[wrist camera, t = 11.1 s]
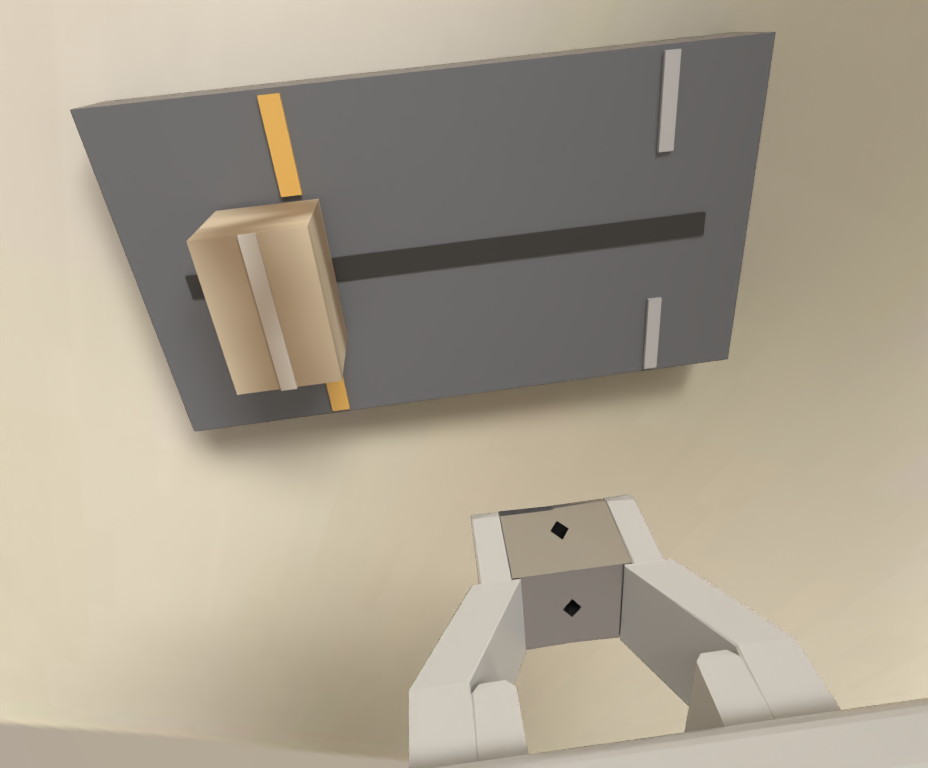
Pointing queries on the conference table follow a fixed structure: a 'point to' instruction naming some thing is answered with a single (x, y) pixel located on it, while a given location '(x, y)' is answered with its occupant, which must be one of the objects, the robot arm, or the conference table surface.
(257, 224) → the fader tab
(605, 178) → the fader console
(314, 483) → the conference table surface
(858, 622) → the conference table surface
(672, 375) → the conference table surface
